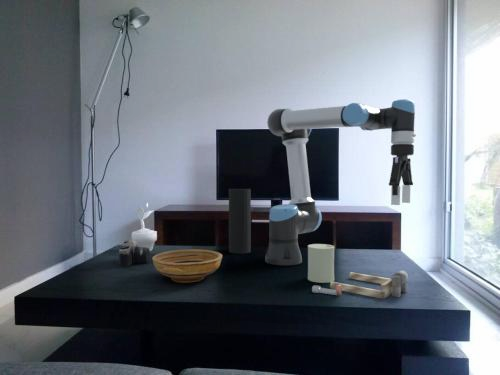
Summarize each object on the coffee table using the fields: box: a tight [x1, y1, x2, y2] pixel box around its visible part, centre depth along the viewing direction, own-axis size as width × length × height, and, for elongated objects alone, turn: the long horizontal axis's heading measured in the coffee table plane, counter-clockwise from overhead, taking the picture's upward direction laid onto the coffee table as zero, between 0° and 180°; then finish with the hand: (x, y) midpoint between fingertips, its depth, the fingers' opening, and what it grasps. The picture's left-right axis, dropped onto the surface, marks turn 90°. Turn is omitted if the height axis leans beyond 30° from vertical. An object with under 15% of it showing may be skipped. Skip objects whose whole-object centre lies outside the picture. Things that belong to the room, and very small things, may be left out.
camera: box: [118, 239, 150, 269], centre depth 151 cm, size 16×10×10 cm, turn 3°
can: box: [307, 243, 335, 284], centre depth 129 cm, size 9×9×12 cm
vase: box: [228, 188, 252, 255], centre depth 174 cm, size 10×10×30 cm
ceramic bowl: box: [151, 249, 223, 284], centre depth 130 cm, size 30×24×8 cm
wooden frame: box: [329, 270, 409, 300], centre depth 118 cm, size 21×16×7 cm
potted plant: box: [131, 202, 158, 252], centre depth 175 cm, size 13×12×25 cm
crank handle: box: [311, 284, 343, 297], centre depth 113 cm, size 9×2×3 cm, turn 62°
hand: (400, 203), depth 133 cm, fingers open, 13 cm apart
